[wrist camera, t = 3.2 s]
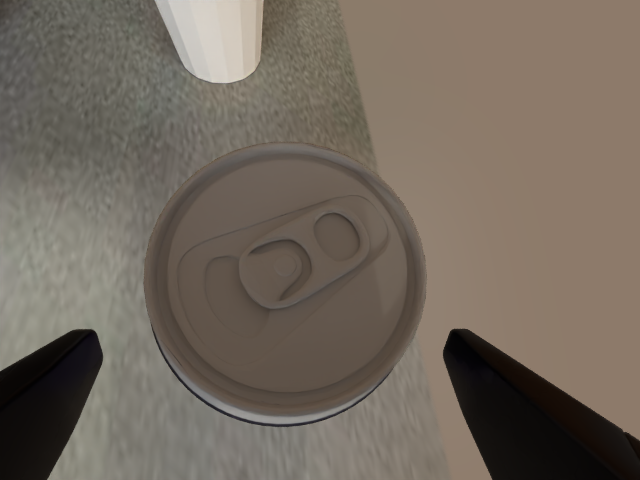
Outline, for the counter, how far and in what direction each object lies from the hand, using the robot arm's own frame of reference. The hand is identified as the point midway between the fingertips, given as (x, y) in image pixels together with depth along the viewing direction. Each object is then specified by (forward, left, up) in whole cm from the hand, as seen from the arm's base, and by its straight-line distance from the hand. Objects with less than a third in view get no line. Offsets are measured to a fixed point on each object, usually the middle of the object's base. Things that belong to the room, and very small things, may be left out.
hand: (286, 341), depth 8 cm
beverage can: (+1, 0, -9) cm, 9 cm away
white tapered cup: (+20, -2, -9) cm, 22 cm away
